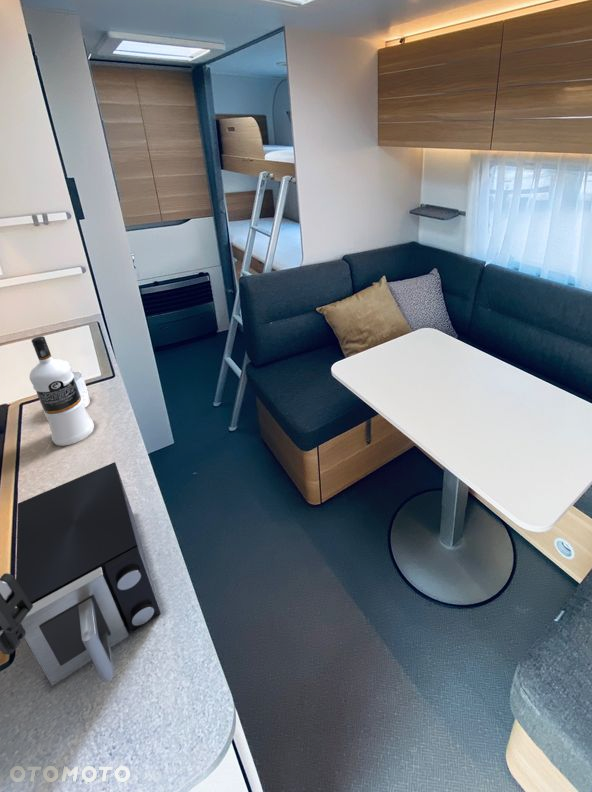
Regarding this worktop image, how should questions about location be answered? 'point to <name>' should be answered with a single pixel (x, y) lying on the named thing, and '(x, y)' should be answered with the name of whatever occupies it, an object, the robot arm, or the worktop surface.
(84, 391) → the white cup
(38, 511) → the microwave
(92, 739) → the worktop surface
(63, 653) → the microwave door
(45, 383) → the vodka
